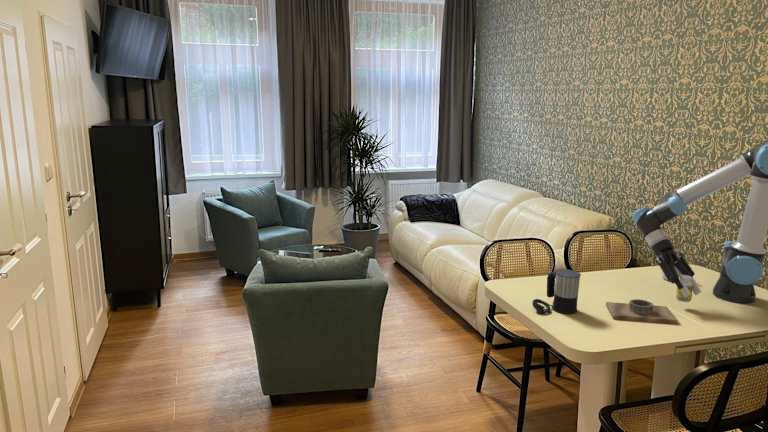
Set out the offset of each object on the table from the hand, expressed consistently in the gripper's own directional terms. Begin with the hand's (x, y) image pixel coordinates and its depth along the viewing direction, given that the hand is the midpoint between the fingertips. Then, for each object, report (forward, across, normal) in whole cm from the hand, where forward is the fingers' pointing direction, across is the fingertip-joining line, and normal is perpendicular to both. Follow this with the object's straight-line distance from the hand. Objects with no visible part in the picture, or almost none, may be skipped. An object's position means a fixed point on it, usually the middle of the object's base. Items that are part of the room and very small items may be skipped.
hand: (693, 294), depth 221 cm
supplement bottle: (0, 0, -5) cm, 5 cm away
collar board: (0, +21, -9) cm, 23 cm away
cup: (-15, -28, -25) cm, 41 cm away
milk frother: (-12, +47, -21) cm, 53 cm away
